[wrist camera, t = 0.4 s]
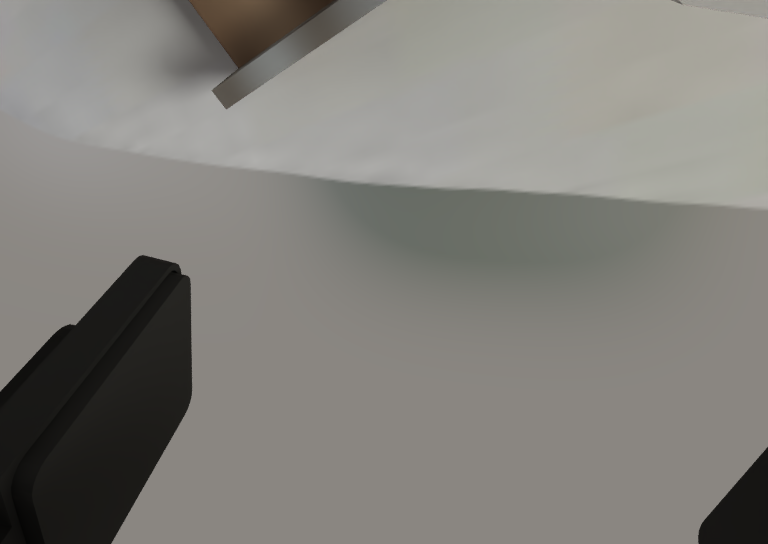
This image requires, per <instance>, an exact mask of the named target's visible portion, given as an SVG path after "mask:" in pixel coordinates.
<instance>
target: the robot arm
mask: <svg viewBox="0 0 768 544" xmlns="http://www.w3.org/2000/svg"><path fill="white" fill-rule="evenodd" d="M190 285H191V284H190V278H189V277H188V276H186V275H182V274H181V269H180V267H179V265H178V264H176V263H172V262H168V261H164V260H160V259H156V258H152V257H148V256H144V255H142V256H139V257H138V258H136V259H135V260H134V261H133V262H132V264H131V265H130V266H129V267H128V268H127V269H126V270H125V271H124V272H123V273H122V275H121V276H120V277H119V278H118V279H117V280H116V281H115V282H114V283H113V285H112V286H111V287H110V288H109V289H108V290H107V291H106V292H105V293H104V294H103V296H102V297H101V298H100V299H99V300H98V301H97V302H96V303H95V304H94V306H93V307H92V308H91V309H90V310H89V311H88V312H87V313H86V314H85V316H84V317H83V318H82V319H81V320H80V321H79V322H78V323H77V324H76V325H71V324H69V325H67V326H64V327H62V328H61V329H59V330H58V331H57V332H56V333H55V334H54V335H53V336H52V337H51V338H50V339H49V340H48V341H47V342H46V343H45V344H44V345H43V346H42V347H41V349H40V350H39V351H38V352H37V353H36V354H35V355H34V356H33V357H32V358H31V359H30V360H29V361H28V363H27V364H26V365H25V366H24V367H23V368H22V369H21V370H20V371H19V372H18V373H17V374H16V375H15V376H14V378H13V379H12V380H11V381H10V382H9V383H8V384H7V385H6V386H5V387H4V388H3V389H2V390H1V392H0V544H111V543H112V541H113V539H114V538H115V536H116V534H117V532H118V531H119V529H120V527H121V525H122V524H123V522H124V520H125V518H126V517H127V515H128V513H129V512H130V510H131V508H132V506H133V505H134V503H135V501H136V499H137V498H138V496H139V494H140V492H141V491H142V489H143V487H144V485H145V483H146V482H147V480H148V478H149V476H150V475H151V473H152V471H153V469H154V468H155V466H156V464H157V462H158V461H159V459H160V457H161V455H162V454H163V452H164V450H165V448H166V446H167V445H168V443H169V442H170V440H171V438H172V436H173V435H174V433H175V431H176V429H177V428H178V426H179V424H180V422H181V421H182V419H183V417H184V415H185V413H186V411H187V409H188V406H189V404H190V400H191V395H192V358H191V357H192V355H191V287H190ZM698 542H699V544H768V447H767V448H766V450H765V451H764V452H763V453H762V454H761V455H760V457H759V458H758V459H757V460H756V461H755V462H754V463H753V465H752V466H751V467H750V468H749V469H748V470H747V472H746V473H745V474H744V475H743V476H742V477H741V479H740V480H739V481H738V482H737V483H736V484H735V485H734V487H733V488H732V489H731V490H730V491H729V492H728V494H727V495H726V496H725V497H724V498H723V499H722V500H721V502H720V503H719V504H718V505H717V506H716V507H715V509H714V510H713V511H712V512H711V513H710V514H709V515H708V517H707V518H706V519H705V520H704V522H703V523H702V524H701V527H700V530H699V535H698Z"/></svg>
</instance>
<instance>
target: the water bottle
mask: <svg viewBox="0 0 768 544" xmlns="http://www.w3.org/2000/svg"><path fill="white" fill-rule="evenodd" d="M672 1H675V2H677V3H680V4H682V5H687V6H693V7H699V8H705V9H712V10H718V11H724V12H730V13H736V14H743V15H749V16H755V17H761V18H767V19H768V0H672Z"/></svg>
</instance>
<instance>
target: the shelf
mask: <svg viewBox="0 0 768 544" xmlns="http://www.w3.org/2000/svg"><path fill="white" fill-rule="evenodd" d="M189 1H190V3H191V4H192V5H193V7H194V8H195V9H196V11H197V12H198V14H199V15H200V16H201V18H202V19H203V20H204V22H205V23H206V24H207V26H208V27H209V29H210V30H211V31H212V33H213V34H214V35H215V37H216V38H217V40H218V41H219V42H220V44H221V45H222V46H223V48H224V49H225V50H226V52H227V53H228V55H229V56H230V57H231V59H232V60H233V61H234V63H235V64H236V65H237V67H238V69H237V70H236V71H235V72H234V73H232V74H231V75H230V76H229V77H227V78H226V79H225V80H224V81H223V82H221V83H220V84H219V85H218V86H217V87H215V88H214V89H213V90H212V91H213V93H214V94H215V95H216V97H217V98H218V99H219V101H220V102H221V103H222V105H223V106H224V107H225V108H226V109H228V108H229V107H231V106H232V105H233V104H235V103H236V102H238V101H239V100H241V99H242V98H244V97H245V96H247V95H248V94H250V93H251V92H253V91H254V90H256V89H257V88H258V87H260V86H261V85H263V84H264V83H266V82H267V81H269V80H270V79H272V78H273V77H275V76H276V75H278V74H279V73H280V72H282V71H283V70H285V69H286V68H288V67H289V66H291V65H292V64H294V63H295V62H297V61H298V60H300V59H301V58H303V57H304V56H305V55H307V54H308V53H310V52H311V51H313V50H314V49H316V48H317V47H319V46H320V45H322V44H323V43H325V42H326V41H328V40H329V39H330V38H332V37H333V36H335V35H336V34H338V33H339V32H341V31H342V30H344V29H345V28H347V27H348V26H350V25H351V24H352V23H354V22H355V21H357V20H358V19H360V18H361V17H363V16H364V15H366V14H367V13H369V12H370V11H372V10H373V9H375V8H376V7H377V6H379V5H380V4H382V3H383V2H385V1H386V0H189Z"/></svg>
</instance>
